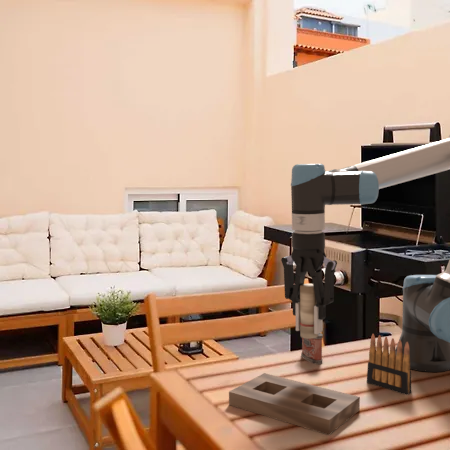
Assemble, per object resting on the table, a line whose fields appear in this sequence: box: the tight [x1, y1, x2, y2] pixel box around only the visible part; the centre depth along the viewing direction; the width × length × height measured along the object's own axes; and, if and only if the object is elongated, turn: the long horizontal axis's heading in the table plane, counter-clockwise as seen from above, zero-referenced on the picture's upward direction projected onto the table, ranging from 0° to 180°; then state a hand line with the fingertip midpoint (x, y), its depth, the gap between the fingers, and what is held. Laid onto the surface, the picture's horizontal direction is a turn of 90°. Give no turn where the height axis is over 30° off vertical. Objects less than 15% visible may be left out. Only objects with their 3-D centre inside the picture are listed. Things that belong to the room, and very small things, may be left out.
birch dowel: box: [299, 283, 318, 338], centre depth 140 cm, size 4×4×12 cm
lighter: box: [300, 332, 324, 365], centre depth 160 cm, size 8×3×10 cm, turn 23°
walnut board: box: [228, 372, 361, 436], centre depth 129 cm, size 14×24×3 cm, turn 53°
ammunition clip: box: [366, 333, 412, 396], centre depth 140 cm, size 11×2×12 cm, turn 44°
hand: (309, 330), depth 140 cm, fingers closed on birch dowel, 4 cm apart
